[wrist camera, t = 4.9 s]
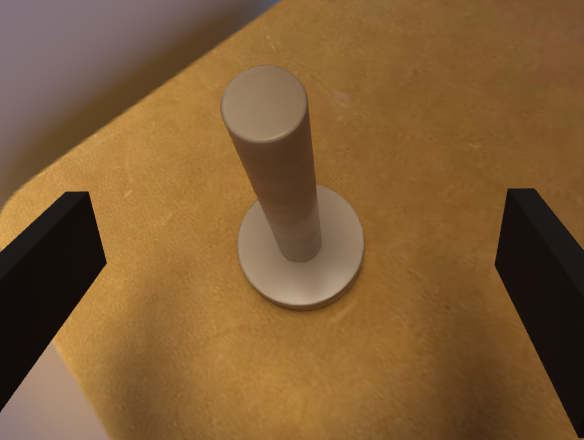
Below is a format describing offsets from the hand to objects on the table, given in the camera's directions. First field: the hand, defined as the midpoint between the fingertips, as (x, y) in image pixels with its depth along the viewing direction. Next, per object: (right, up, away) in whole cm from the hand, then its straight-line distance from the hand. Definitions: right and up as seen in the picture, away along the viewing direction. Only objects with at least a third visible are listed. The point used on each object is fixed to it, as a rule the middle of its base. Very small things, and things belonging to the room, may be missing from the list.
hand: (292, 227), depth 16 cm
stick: (+1, -1, +10) cm, 10 cm away
